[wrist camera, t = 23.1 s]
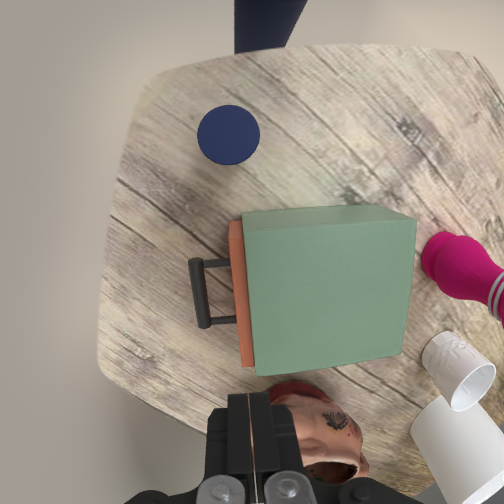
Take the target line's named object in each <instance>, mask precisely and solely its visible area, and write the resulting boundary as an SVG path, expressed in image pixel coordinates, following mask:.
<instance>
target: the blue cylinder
mask: <svg viewBox="0 0 504 504" xmlns="http://www.w3.org/2000/svg"><path fill="white" fill-rule="evenodd" d="M259 138H260V131H259V127H258V124H257V121H256V120H255V118H254V117H253V116H252V114H250V113H249V112H248V111H247V110H245V109H243V108H241V107H238V106H234V105H224V106H220V107H217V108H214V109H213V110H211V111H210V112H208V113H207V114H206V115H205V116H204V118H203V119H202V121H201V122H200V125H199V128H198V133H197V139H198V144H199V147H200V149H201V151H202V152H203V154H204V155H205V156H206V157H207V158H208V159H210V160H211V161H213V162H215V163H218V164H221V165H235V164H239V163H241V162H243V161H245V160H247V159H248V158H249V157H250V156H251V155H252V154H253V153H254V151H255V150H256V148H257V146H258V143H259Z"/></svg>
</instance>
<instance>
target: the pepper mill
mask: <svg viewBox="0 0 504 504" xmlns="http://www.w3.org/2000/svg"><path fill="white" fill-rule="evenodd" d="M422 267H423V270H424V272H425V274H426V275H427V276H428V277H430V278H431V279H432V280H434V281H435V282H436V283H437V285H438V287H439V288H440V290H441V291H442V292H443V293H445V294H447V295H448V296H450V297H453V298H456V299H461V300H475V301H478V302H481V303H483V304H485V305H486V306H487V307H488V311H489V313H490V314H491V316H493V317H495V318H496V319H497V320H498V321H502V325H503V328H504V269H502V268H500V267H499V266H497V265H496V264H495V263H494V262H493V261H492V260H491V258H490V257H489V255H488V254H487V252H486V250H485V249H484V248H483V246H482V245H481V244H480V243H479V242H478V241H476V240H474V239H473V238H471V237H469V236H463V235H461V236H456V235H454V234H452V233H449V232H440V233H437V234H436V235H434V236H433V237H432V238H431V239H430V240H429V241H428V242H427V244H426V246H425V248H424V250H423V255H422Z"/></svg>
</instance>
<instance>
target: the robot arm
mask: <svg viewBox="0 0 504 504" xmlns="http://www.w3.org/2000/svg"><path fill="white" fill-rule="evenodd" d="M249 398H250V411H251V425H252V437H253V450H254V462H255V474H256V485H257V495H258V503H264V504H423V503H421V502H419V501H416V500H414V499H412V498H410V497H408V496H406V495H404V494H402V493H400V492H398V491H396V490H394V489H392V488H390V487H388V486H386V485H384V484H382V483H380V482H378V481H376V480H374V479H372V478H368V477H356V478H353V479H350V480H348V481H347V482H345V483H344V484H331V483H322V482H319V481H317V480H314V479H313V478H311V477H310V476H309V475H308V474H307V473H306V471H305V469H304V466H303V461H302V456H301V452H300V447H299V443H298V438H297V435H296V429H295V425H294V420H293V415H292V412H291V411H290V410H289V409H288V408H287V406H286V405H285V404H276V405H271V403H270V396H269V392H258V393H249ZM253 503H254V504H255V503H256V496H255V483H254V470H253V457H252V443H251V430H250V418H249V406H248V395H247V393H245V394H228V408H214V410H213V411H212V413H211V415H210V416H209V418H208V425H207V442H206V457H205V474H204V478H203V481H202V482H201V483H200V485H199V486H198V487H196V488H195V489H193V490H192V491H189V492H186V493H183V494H178V495H173V496H167V495H166V494H164V493H162V492H160V491H155V490H147V491H143V492H140V493H138V494H137V495H135V496H134V497H133V498H131V499H130V500H129V501H127V502H126V503H124V504H253Z"/></svg>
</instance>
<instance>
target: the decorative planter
mask: <svg viewBox="0 0 504 504" xmlns="http://www.w3.org/2000/svg"><path fill="white" fill-rule="evenodd" d="M265 392H269V396H270V403H271V405H276V404H285V405H286V406H287V408H288V409H289V410H290V411H291V412H292V415H293V420H294V425H295V429H296V435H297V438H298V443H299V447H300V452H301V456H302V461H303V466H304V469H305V471H306V473H307V474H308V475H309V476H310V477H311V478H313V479H314V480H317V481H319V482H322V483H331V484H344V483H345V482H347V481H348V480H350V479H353V478H356V477H366V476H367V475H368V472H369V464H368V462H367V461H366V459H365V457H364V456H363V454H362V453H361V452H360V451H361V448H362V443H363V438H362V432H361V429H360V427H359V426H358V425H357V424H356V422H355V421H354V420H353V419H352V418H351V417H350V416H349V415H348V414H347V413H345V412H344V411H343V410H342V409H341V408H340V407H339V406H338V405H336V404H335V403H334V402H333V401H332V400H331V399H329V398H328V397H327V395H326V394H325V393H324V392H323V391H322V390H321V389H319V388H318V387H316V386H314V385H312V384H308V383H305V382H302V381H300V380H291V381H285V382H281V383H279V384H276V385H274V386H272V387H270V388H269V389H268V390H266V391H265ZM250 430H251V443H252V457H253V469H254V470H255V462H254V450H253V437H252V425H251V420H250Z"/></svg>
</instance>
